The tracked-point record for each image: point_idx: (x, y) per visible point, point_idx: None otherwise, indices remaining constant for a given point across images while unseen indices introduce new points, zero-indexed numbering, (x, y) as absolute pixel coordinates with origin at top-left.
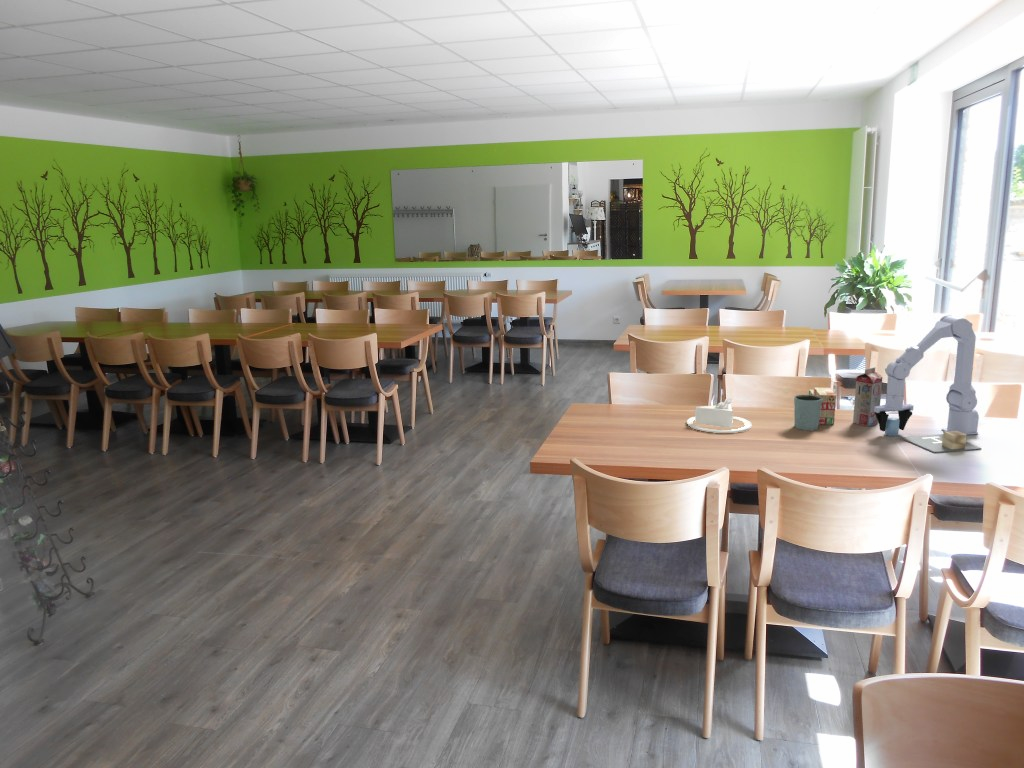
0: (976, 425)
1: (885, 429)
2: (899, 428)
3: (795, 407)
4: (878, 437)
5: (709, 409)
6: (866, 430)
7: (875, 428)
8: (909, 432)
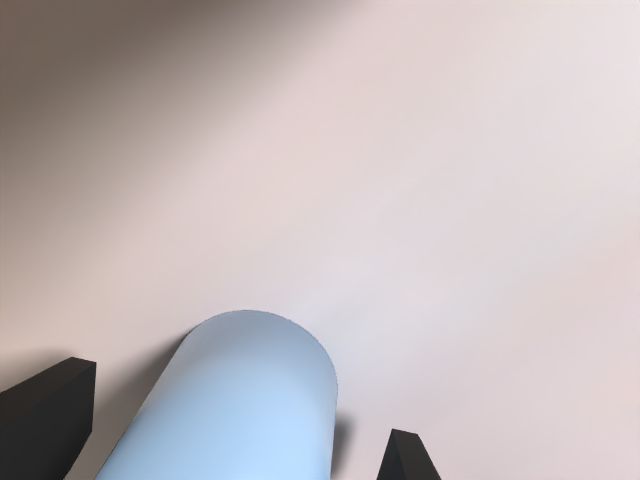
0: None
1: (151, 390)
2: (388, 448)
3: None
4: None
5: None
6: (64, 75)
7: (286, 44)
8: (561, 421)
